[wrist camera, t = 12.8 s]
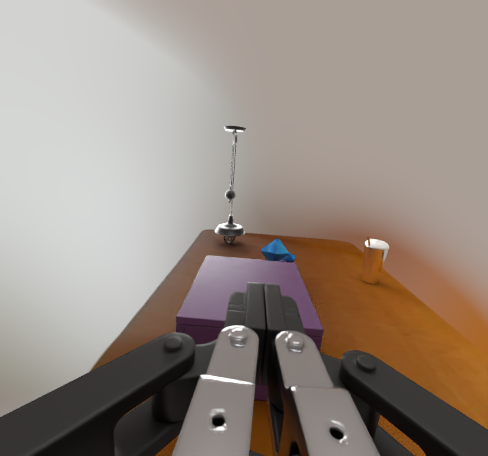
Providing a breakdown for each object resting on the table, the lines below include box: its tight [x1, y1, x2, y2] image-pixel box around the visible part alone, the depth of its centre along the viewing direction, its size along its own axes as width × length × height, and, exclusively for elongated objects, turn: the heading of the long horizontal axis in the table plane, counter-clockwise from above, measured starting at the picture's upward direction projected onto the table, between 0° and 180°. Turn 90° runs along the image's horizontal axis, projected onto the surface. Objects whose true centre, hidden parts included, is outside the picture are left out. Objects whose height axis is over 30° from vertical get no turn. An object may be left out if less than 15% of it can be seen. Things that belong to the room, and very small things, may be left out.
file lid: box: [176, 255, 323, 337], centre depth 32 cm, size 16×14×1 cm
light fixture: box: [215, 126, 246, 243], centre depth 72 cm, size 10×8×31 cm
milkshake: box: [361, 237, 389, 284], centre depth 55 cm, size 5×5×10 cm
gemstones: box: [261, 239, 296, 263], centre depth 54 cm, size 7×9×12 cm
